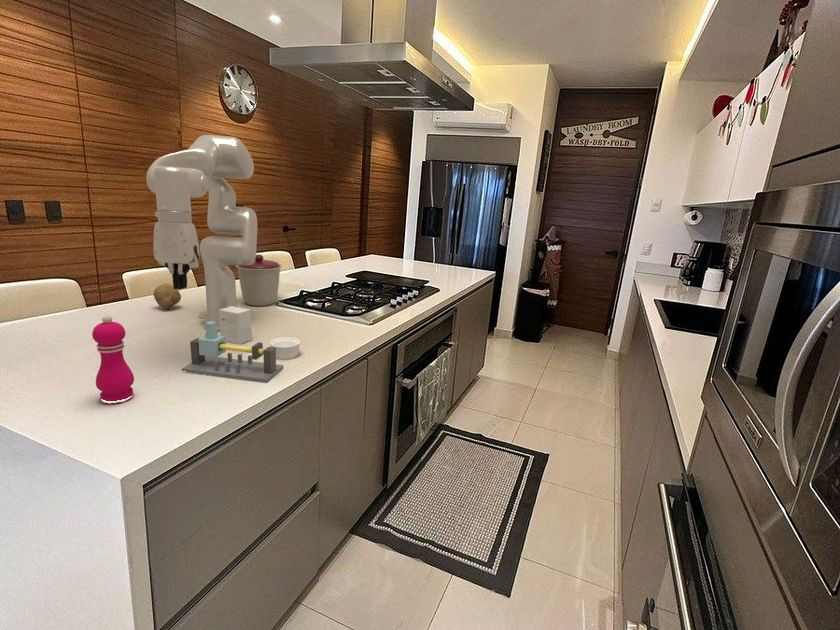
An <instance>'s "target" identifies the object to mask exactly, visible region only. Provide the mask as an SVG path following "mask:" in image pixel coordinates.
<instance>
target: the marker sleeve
mask: <svg viewBox="0 0 840 630" xmlns="http://www.w3.org/2000/svg"><path fill="white" fill-rule="evenodd" d="M205 327H206V328H205V336H203V337H201V338H200V339H198V341H199V355H205V356H213V357H219V356H221V355H222V354H224V353H225V352H227V350H223V349H218V344H225V345H227V344H226V341H225V336H221V335H218V331H217V322H213V321H209V322H207V323H205Z"/></svg>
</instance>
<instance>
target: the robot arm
mask: <svg viewBox="0 0 840 630" xmlns="http://www.w3.org/2000/svg"><path fill="white" fill-rule="evenodd" d="M254 171H255V165H254V160H253V158H252V156H251V153H250V152H249V151H248V148H247V147H246V145H245V144H244V143H243V142H242V140H240V139H239V138H237V137H235V136H226V135H215V134H203V135H200V136H199V137H197V139H196V140H194V142H193V143H192V144H191V145H190V146H189V147H188V148H187V149H184V150H180V151H177V152H173V153H169V154H168V153H167V154H166V155H165V154H164V155H163V156H159V157H158V158H156V159H155V161H153V163H151V165H150V166H149V168H148V170H147V171H146V176H145V177H146V178H145V180H146V185H147V187H148V189H149V190H150V191H151V192H152V193H153V194H154V195H155V199H156V211H155V212H154V217H155V218H157V220H158V221H157V222H155V223H154V228H153V229H154V230H153V239H152V240H153V258H154V259H155V260H156V261H157V263H158V265H160V266H164V267H166V269H168V271H169V274H171V275H172V276H171V278H172V285H173V287H174V289H177V290H178V291H180V290H183V289H187V288H188V273H189V272H190V271H191V269H196V268H199V267H200V265H199V261H200V256H201V260H202V263H203V270H204V280H205V296H206V311H207V312H205V311H199V313H198V316H197V318H198V319H202V320H204V322H203V323H202V325H203V328H204V329H206V327H205V323H207V322H209V321H213V322H217V332H219V331H220V321H219V310H220V309H223V308H227V307H230V306H233V307H237V306H238V305H237V286H236V275H235V274H234V272H233V271H232V269H231V268H230V267H229V266H236V265H244V266H246V265H252V264H253V263H254V261H255V258H256V255H257V242H258V240H257V239H258V217H257V214H256V212H255V210H254V209H252V207H251V208H250V207H248V206H247V207H246V206H236V203H237V202H236V199H237V195H236V192H235V190H234V188H233V187H232V186H231V184H230V183H228V181H227V180H226V179H225V178H227V179H239V180H248V179H250V178H252V176H253V175H254ZM207 192H208V205H207V206H208V207H207V221H206V222H207V227H208V230H210V232H212V233H214V234H223V235H236V236H237V235H240V236H241V237H239V236H237V237H236V236H220V235H211V236H206V237H205V238H203V239H202V240H201V242H200V244H199V240H198V239H199V238H198V234H197V229H196V226H195V223H193V220H192V219H193V218H192V208H191V207H192V206H191V205H192V203H191V198H192V199H193V198H194V199H197V198H201V197H204V196H205V195H206V194H207Z"/></svg>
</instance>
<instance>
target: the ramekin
mask: <svg viewBox="0 0 840 630" xmlns="http://www.w3.org/2000/svg"><path fill="white" fill-rule="evenodd" d="M300 345H301V340H300V339H299V338H296V337H292V336H291V337H290V336H286V337H285V336H284V337H277V338H273V339H271V340H270V341H269V347H275V348H276V360H277V359H278V360H290V359H293V358H294V359H295V358H296V357H297V356H299V354H300Z"/></svg>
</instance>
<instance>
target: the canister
mask: <svg viewBox="0 0 840 630" xmlns="http://www.w3.org/2000/svg"><path fill="white" fill-rule="evenodd" d="M235 267H236V268H237V272H238V279H239V285H240V291H241V296H242V300H243V302H244V303H245V304H246V305H249V306H255V307H264V306H265V307H266V306H271V305H273V304H274V303H276V301H277V299H278V295H279V294H278V293H279V284H280V273H281V268H282V264H280V263H279V262H277V261H274V260H268V259H264V255H263V254H259V253H256V258H255V261H254V263H253V264H252V265H246V266H244V265H235Z"/></svg>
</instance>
